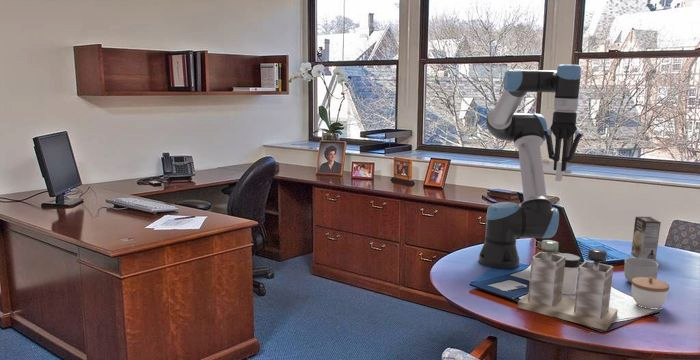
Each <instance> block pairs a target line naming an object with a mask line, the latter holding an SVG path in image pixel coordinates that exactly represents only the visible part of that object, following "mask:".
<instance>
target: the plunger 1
mask: <svg viewBox="0 0 700 360" xmlns="http://www.w3.org/2000/svg"><path fill="white" fill-rule="evenodd" d="M559 244H560V243H559V241H555V240H551V239H543V240H541V244H540V250H541V251H542V252H543V251H544V252H545V253H546V260H549V261H551V257H552V254H553V253H557V252H559V246H560V245H559Z"/></svg>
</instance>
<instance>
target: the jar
mask: <svg viewBox="0 0 700 360" xmlns="http://www.w3.org/2000/svg"><path fill="white" fill-rule="evenodd" d="M555 255H560V256H565V257H566V258H565V269H564V279H563V289H562V295H570V296H576V286H577V276H578V267H579V266H580V265H581V257H580V256H578V255H576V254H572V253H567V252H566V253H565V252H564V253H563V252H561V253H556V254H555Z"/></svg>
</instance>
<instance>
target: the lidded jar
mask: <svg viewBox="0 0 700 360" xmlns="http://www.w3.org/2000/svg"><path fill="white" fill-rule="evenodd" d="M669 290H670V285H669V284H668V283H667V282H666V281H663V280H661V279H658V278H657V279H654V278H652V277H649V278H648V277H636V278H633V279H632V283H631V295H632V296H631V297H632V299H633V300H634V301H635V303H636V305H637V304H638V305H640V306H642V307H646V308H658V309H659V308H660V307H662V305H664V304H665V302H666V301H667V299H668V295H669ZM638 305H637V306H638ZM640 306H639V307H640ZM642 307H641V308H642ZM646 308H645V309H646Z"/></svg>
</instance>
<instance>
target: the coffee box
mask: <svg viewBox="0 0 700 360" xmlns="http://www.w3.org/2000/svg"><path fill="white" fill-rule="evenodd" d="M634 220H635V221H634V228H633V237H632V244H631V254H632V255H633V257H635V258H646V259H650V260H653V261H657V252H658V244H659V238H660V230H661V225H662V224H661V223H662V222H661V221H659V220H657V219H655V218H653V217H652V216H635V219H634Z"/></svg>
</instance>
